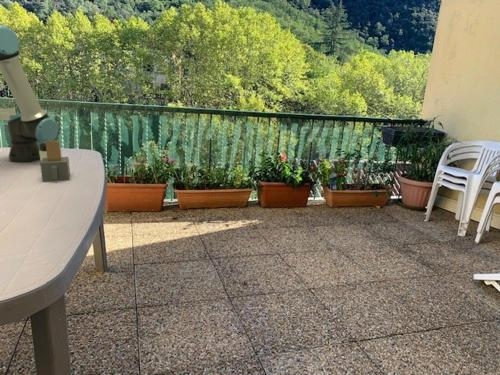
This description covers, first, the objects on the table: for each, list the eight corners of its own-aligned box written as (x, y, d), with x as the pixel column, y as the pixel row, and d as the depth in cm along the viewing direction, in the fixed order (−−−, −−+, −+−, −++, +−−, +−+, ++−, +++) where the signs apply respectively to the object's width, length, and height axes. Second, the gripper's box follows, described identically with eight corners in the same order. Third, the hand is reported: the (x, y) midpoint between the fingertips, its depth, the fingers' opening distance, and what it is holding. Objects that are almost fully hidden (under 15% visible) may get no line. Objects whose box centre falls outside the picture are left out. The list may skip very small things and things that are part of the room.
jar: (42, 172, 174) (39, 146, 171) (40, 168, 181) (37, 143, 177) (64, 170, 179) (61, 144, 175) (61, 166, 185) (58, 141, 182)
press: (45, 175, 169) (42, 157, 167) (70, 174, 173) (68, 156, 171) (41, 183, 158) (39, 164, 155) (68, 182, 161) (66, 163, 159)
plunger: (50, 173, 167) (46, 140, 163) (63, 173, 169) (59, 140, 165) (49, 176, 164) (45, 142, 159) (62, 175, 165) (58, 141, 161)
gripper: (-41, 120, 158) (18, 119, 166) (-62, 130, 136) (8, 128, 144) (-45, 102, 156) (15, 101, 163) (-67, 109, 134) (4, 108, 141)
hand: (12, 114), depth 153 cm, fingers open, 13 cm apart
